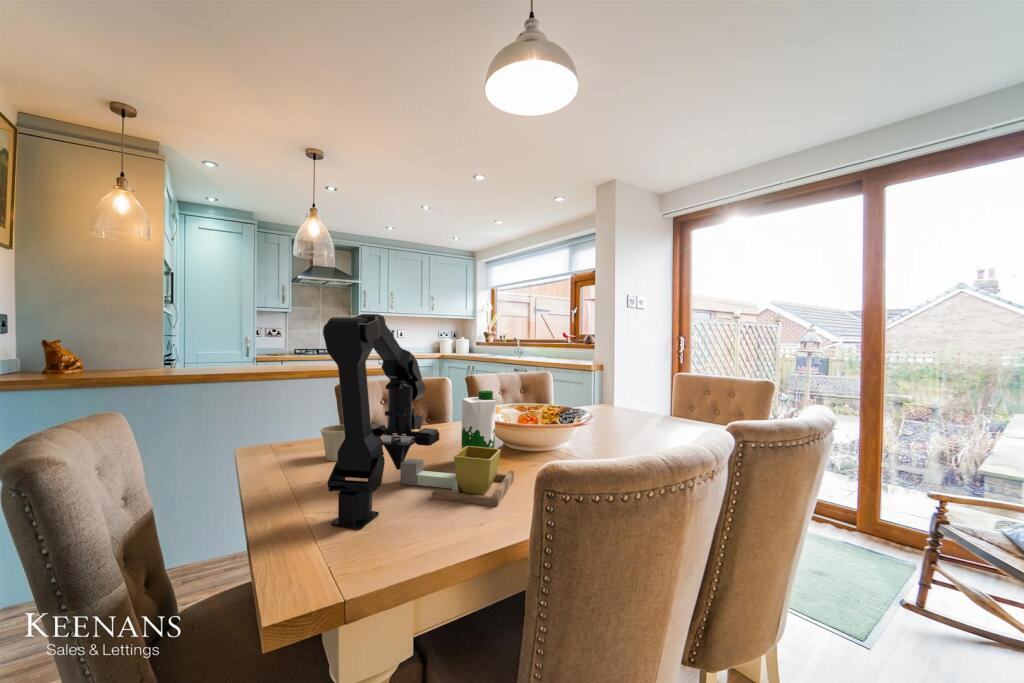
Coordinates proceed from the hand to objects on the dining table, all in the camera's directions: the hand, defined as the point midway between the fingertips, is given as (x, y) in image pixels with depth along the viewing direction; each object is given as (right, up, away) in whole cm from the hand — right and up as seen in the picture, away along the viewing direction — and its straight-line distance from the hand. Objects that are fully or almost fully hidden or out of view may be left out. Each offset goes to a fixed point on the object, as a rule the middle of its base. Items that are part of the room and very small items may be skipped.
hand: (399, 469), depth 100 cm
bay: (+19, -3, -4) cm, 19 cm away
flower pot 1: (-23, -2, +18) cm, 29 cm away
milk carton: (+18, -3, +15) cm, 24 cm away
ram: (+9, -3, -2) cm, 10 cm away
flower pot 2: (+20, -4, -5) cm, 21 cm away
